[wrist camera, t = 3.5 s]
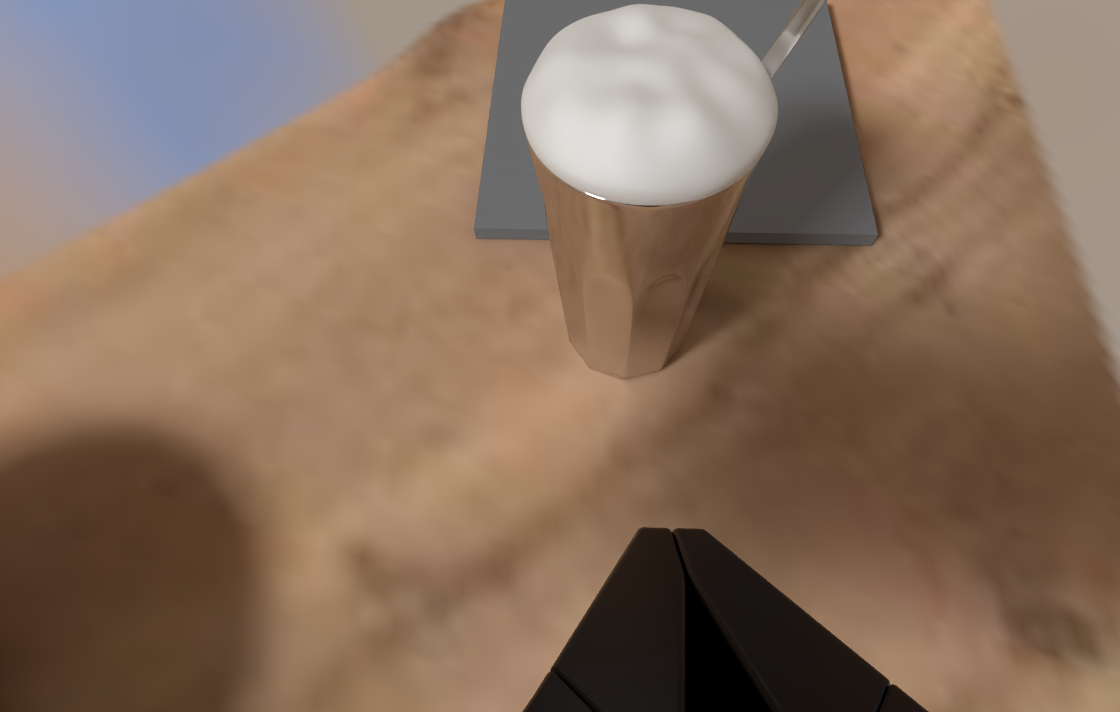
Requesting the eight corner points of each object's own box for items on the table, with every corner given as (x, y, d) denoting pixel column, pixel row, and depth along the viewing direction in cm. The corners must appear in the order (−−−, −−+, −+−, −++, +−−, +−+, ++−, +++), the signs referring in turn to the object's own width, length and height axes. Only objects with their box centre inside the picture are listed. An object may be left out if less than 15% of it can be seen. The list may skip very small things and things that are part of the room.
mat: (871, 245, 20) (878, 234, 20) (476, 238, 21) (474, 228, 20) (822, 11, 25) (826, -1, 25) (506, 11, 26) (505, -1, 26)
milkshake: (758, 370, 18) (915, 52, 10) (569, 420, 18) (552, 132, 9) (699, 243, 20) (783, -114, 12) (529, 284, 20) (483, -57, 11)
